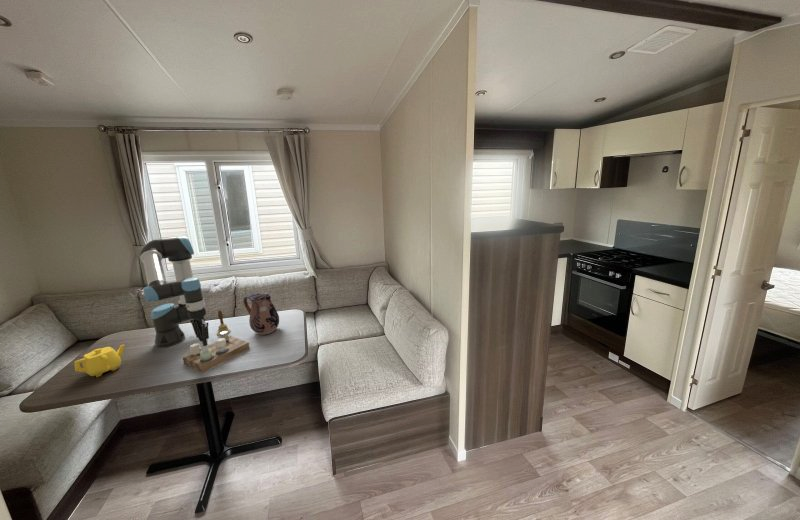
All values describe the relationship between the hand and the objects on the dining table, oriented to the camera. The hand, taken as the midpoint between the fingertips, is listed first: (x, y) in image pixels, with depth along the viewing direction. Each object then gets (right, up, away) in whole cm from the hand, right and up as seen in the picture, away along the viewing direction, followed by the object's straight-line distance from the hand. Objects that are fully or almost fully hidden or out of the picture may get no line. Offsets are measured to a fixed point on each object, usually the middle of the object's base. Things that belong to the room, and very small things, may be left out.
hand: (205, 350), depth 156 cm
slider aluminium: (-1, 0, +20) cm, 20 cm away
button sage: (0, -4, +1) cm, 4 cm away
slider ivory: (-9, -3, +7) cm, 12 cm away
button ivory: (+4, 0, +7) cm, 8 cm away
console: (0, -6, +12) cm, 13 cm away
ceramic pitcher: (+13, 0, +38) cm, 40 cm away
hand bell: (-14, 0, +39) cm, 42 cm away
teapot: (-55, -11, +2) cm, 56 cm away
